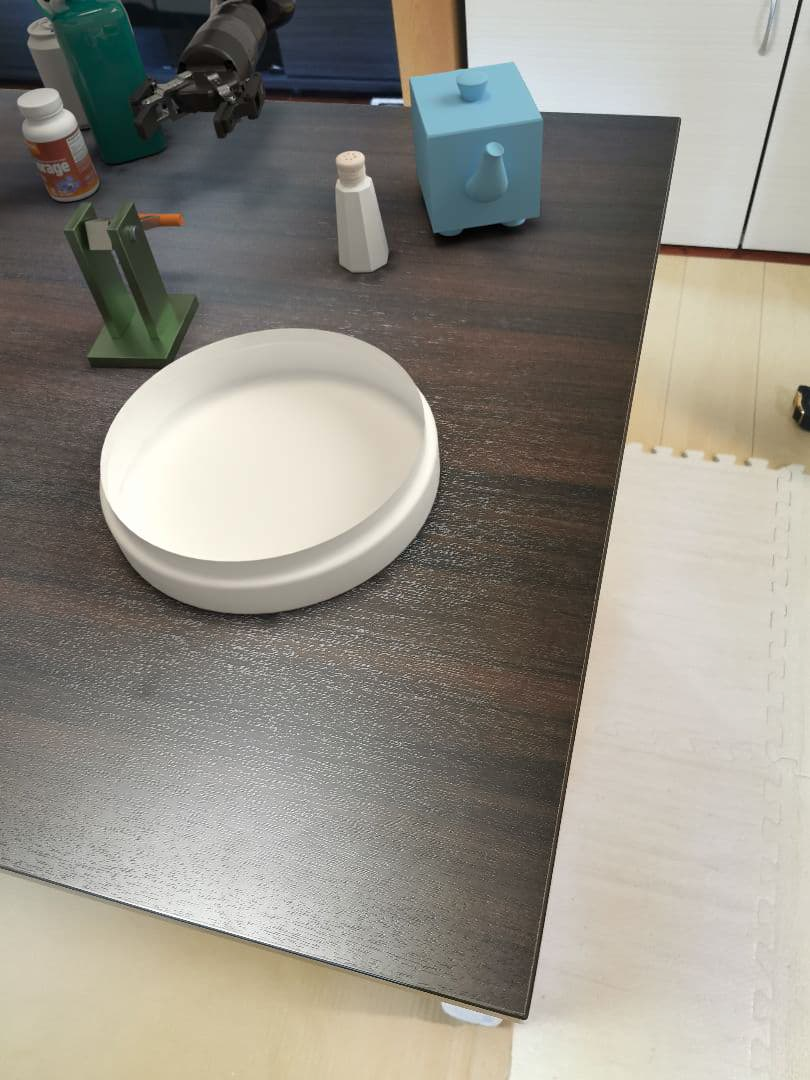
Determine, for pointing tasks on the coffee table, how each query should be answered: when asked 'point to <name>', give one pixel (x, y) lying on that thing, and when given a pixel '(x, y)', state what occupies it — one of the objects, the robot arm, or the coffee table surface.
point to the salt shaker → (358, 217)
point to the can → (54, 67)
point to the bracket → (130, 319)
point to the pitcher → (103, 72)
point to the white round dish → (270, 470)
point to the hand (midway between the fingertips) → (180, 130)
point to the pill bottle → (57, 146)
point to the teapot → (477, 147)
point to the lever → (101, 239)
